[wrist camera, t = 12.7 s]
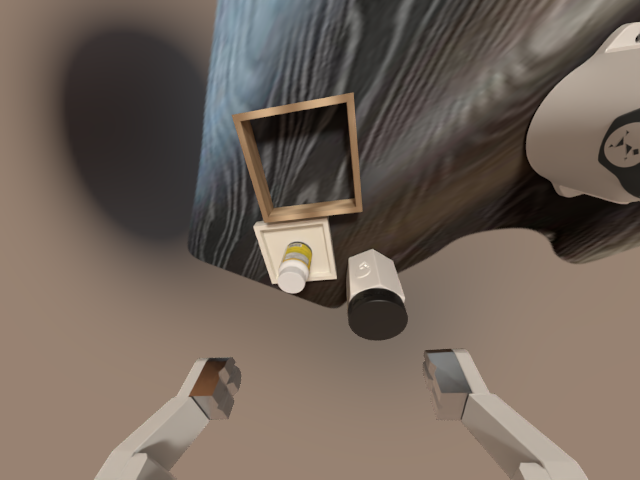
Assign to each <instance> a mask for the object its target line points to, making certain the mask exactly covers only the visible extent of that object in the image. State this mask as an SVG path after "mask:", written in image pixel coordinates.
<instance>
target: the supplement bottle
mask: <svg viewBox="0 0 640 480" xmlns="http://www.w3.org/2000/svg"><path fill="white" fill-rule="evenodd" d="M311 259H312V249H311V247H310V246H309V245H308V244H307V243H305V242H303V241H293V242H291V243H289V244H288V245H287V247H286V249H285V252H284V255H283V258H282V261H281V264H280V267H279V277H278V285H279V287H280V288H281V289H282V290H283V291H285V292H287V293H298V292H300V291H301V290H302V289H303V288H304V286H305V282H306V280H307V279H308V277H309V272H310V265H311Z"/></svg>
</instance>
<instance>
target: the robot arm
mask: <svg viewBox="0 0 640 480" xmlns="http://www.w3.org/2000/svg"><path fill="white" fill-rule="evenodd" d="M637 36H638V39H637V41H636V42H635V39H636V37H637ZM526 153H527V158H528V161H529V163H530V165H531V167H532V168H533V169H534V170H535V171H536V172H537V173H538V174H539V175H541V176H543V177H545V178H546V179H548V180H549V181H551V182H552V184H553V186H554V189H555V190H556V192H557V193H558V194H559V195H561V196H564V197H574V196H578V195H581V194H587V195H590V196H594V197H597V198H601V199H604V200H607V201H611V202H614V203H618V204H628V203H630V202H635V201H640V22H637V23H629V24H624V25H622V26H621V27H619V28H618V29H616V30H615V31H614V32H613V33H612V34H611V35H610V36H609V37H608V38H607V40H606V41H605V42H604V43H603V44H602V45H601V47H600V48H599V49H598V50H597V51H596V53H595V54H594V55H593V56H592V57H591V58H590V59H589V60H587V61H586V62H585V63H583V64H582V65H581V66H579V67H578V68H577V69H575V70H574V71H572V72H571V73H570V74H569V75H567V76H566V77H565V78H564V79H563V80H562V81H561V82H559V83H558V84H557V85H556V86H555V87H554V89H553V90H552V91H551V92H550V93H549V94H548V95H547V97H546V98H545V99H544V101H543V102H542V103H541V105H540V107H539V108H538V110H537V112H536V113H535V115H534V117H533V119H532V122H531V124H530V127H529V130H528V134H527V139H526ZM424 358H425V361H424V362H423V374H424V379H425V383H426V386H427V388H428V389H429V390H430V391H431V392H432V394H431V402H432V406H433V409H434V412H435V415H436V419H437V420H462V421H461V422H462V423H463V424H464V426H465V427H466V428H467V429H468V430H469V431H470V433H471V434H472V435H473V436H474V437H475V438H476V439H477V441H478V442H479V443H480V444H481V445H482V446H483V448H484V449H485V450H486V451H487V452H488V453H489V454H490V456H491V457H492V458H493V459H494V460H495V461H496V463H498V465H499V466H500V467H501V468H502V469H503V471H504V472H505V473H506V474H507V475H508V476H509V478H510V480H588V478H587V477H586V475H585V474H584V472H583V470H582V469H581V467H580V466H579V465H578V463H577V462H576V461H575V460H573V459H572V458H571V457H570V456H569V455H567V454H566V453H565V452H564V451H563V450H562V449H560V448H559V447H558V446H557V445H556V444H554V443H553V442H552V441H551V440H550V439H548V438H547V437H546V436H545V435H544V434H542V433H541V432H540V431H539V430H537V429H536V428H535V427H534V426H533V425H532V424H530V423H529V422H528V421H527V420H526V419H524V418H523V417H522V416H521V415H520V414H518V413H517V412H516V411H515V410H514V409H512V408H511V407H510V406H509V405H508V404H506V403H505V402H504V401H503V400H502V399H501V398H499V397H498V396H497V395H496V394H492V393H490V392H489V390H488V388H487V386H486V385H485V383H484V381H483V379H482V377H481V375H480V373H479V371H478V369H477V367H476V365H475V363H474V362H473V360H472V358H471V356H470V354H469V352H468V351H467V350H466V349H441V350H425V351H424ZM234 364H235V360H234V359H233V358H232V357H229V358H228V357H227V358H199V359H198V360H197V361H196V362H195V364H194V366H193V368H192V370H191V371H190V373H189V375H188V377H187V379H186V380H185V382H184V384H183V386H182V388H181V389H180V391H179V393H178V395H177V397H173V398H172V399H171V400H169V401H168V402H167V403H166V404H165V405H164V406H163V407H161V408H160V409H159V410H158V411H157V412H156V413H155V414H154V415H152V416H151V417H150V418H149V419H148V420H147V421H146V422H145V423H143V424H142V425H141V426H140V427H139V428H138V429H137V430H136V431H135V432H133V433H132V434H131V435H130V436H129V437H128V438H127V439H125V440H124V441H123V442H122V443H121V444H120V445H119V446H118V447H117V448H115V449H114V450H113V451H112V452H111V454H110V456H109V457H108V459H107V460H106V462H105V463H104V465H103V466H102V468H101V470H100V471H99V473H98V474H97V476H96V477H95V479H94V480H177V478H176V477H175V476H173V475H172V474H171V473H170V472H169V470H170V469H171V468H172V467H173V466H174V464H175V463H176V462H177V461H178V459H179V458H180V457H181V456H182V454H183V453H184V452H185V451H186V450H187V448H188V447H189V446H190V445H191V443H192V442H193V441H194V440H195V438H196V437H197V436H198V435H199V433H200V432H201V431H202V430H203V429H204V427H205V426H206V425H207V424H208V422H209V420H217V419H229V416H230V413H231V410H232V407H233V404H234V398H233V396H234V394H235V393H236V392H237V391H238V390H239V387H240V384H241V371H240V369H239V368H238V367H237V366H235V365H234Z"/></svg>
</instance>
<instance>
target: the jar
mask: <svg viewBox="0 0 640 480" xmlns="http://www.w3.org/2000/svg"><path fill="white" fill-rule="evenodd" d="M346 288H347V313H348V321H349V326H350V328H351V329H352V331H353V332H354V333H355V334H357V335H358V336H360V337H362V338H365V339H368V340H386V339H390V338H393V337H395V336H397V335H398V334H400V333H401V332H402V331H403V330H404V329H405V327H406V325H407V322H408V316H407V313H406V310H405V306H404V301H405V296H404V293H403V291H402V287H401V284H400V281H399V278H398V275H397V272H396V269H395V266H394V263H393V261H392V260H390V259H389V258H387V257H385V256H384V255H382V254H380V253H379V252H377V251H375V250H374V249H371V250H368V251H366V252H363V253H360V254H358V255H355V256H353V257H350V258H349V259H348V266H347V274H346Z"/></svg>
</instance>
